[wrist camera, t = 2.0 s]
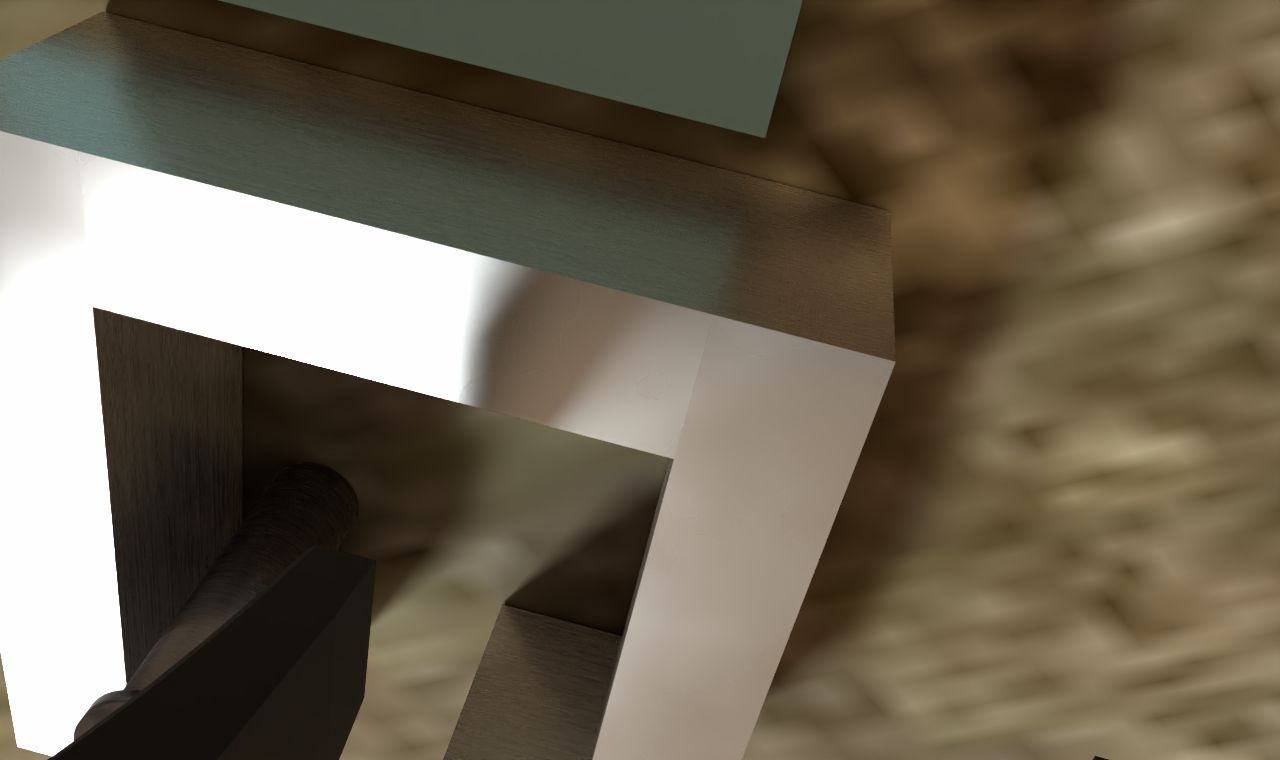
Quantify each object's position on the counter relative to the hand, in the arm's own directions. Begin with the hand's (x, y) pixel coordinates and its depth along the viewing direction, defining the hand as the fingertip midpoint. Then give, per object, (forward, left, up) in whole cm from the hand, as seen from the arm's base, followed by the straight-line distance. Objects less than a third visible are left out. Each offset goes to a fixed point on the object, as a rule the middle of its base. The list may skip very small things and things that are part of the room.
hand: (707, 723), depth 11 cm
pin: (-6, -4, -5) cm, 9 cm away
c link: (-4, -2, -5) cm, 7 cm away
